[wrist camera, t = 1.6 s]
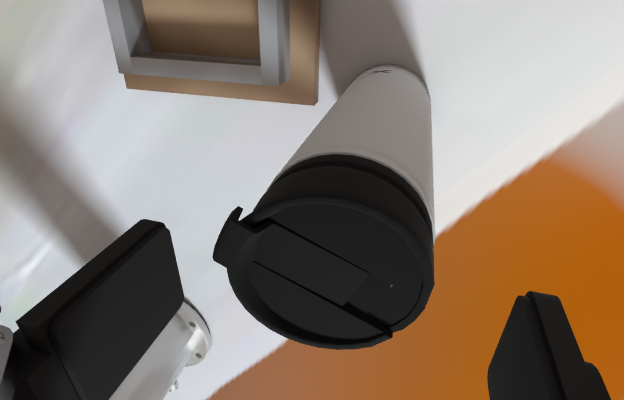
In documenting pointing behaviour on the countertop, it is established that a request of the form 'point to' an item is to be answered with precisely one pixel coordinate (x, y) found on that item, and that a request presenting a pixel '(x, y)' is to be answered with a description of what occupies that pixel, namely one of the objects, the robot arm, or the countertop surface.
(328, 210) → the travel mug
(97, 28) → the countertop surface
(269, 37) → the frame
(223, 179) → the countertop surface
